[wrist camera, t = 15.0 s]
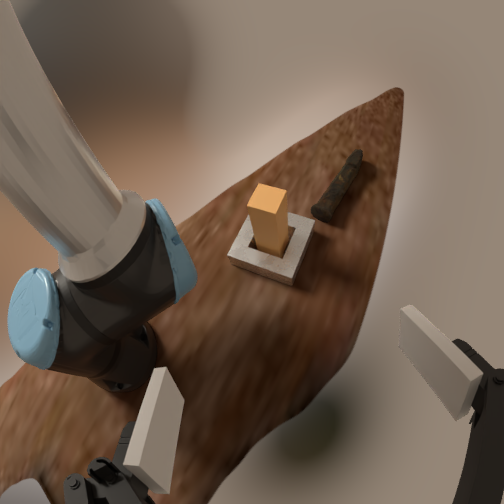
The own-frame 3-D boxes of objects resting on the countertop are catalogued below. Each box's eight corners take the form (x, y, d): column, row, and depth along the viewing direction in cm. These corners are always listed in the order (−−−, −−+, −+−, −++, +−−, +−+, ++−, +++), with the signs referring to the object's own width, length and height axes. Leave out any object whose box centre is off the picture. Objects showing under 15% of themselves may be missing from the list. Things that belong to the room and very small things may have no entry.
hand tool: (328, 227, 50) (330, 212, 46) (309, 216, 52) (310, 201, 48) (370, 166, 56) (374, 151, 52) (354, 158, 57) (357, 143, 53)
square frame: (231, 264, 49) (227, 255, 46) (257, 213, 53) (255, 202, 50) (291, 286, 46) (291, 278, 43) (313, 231, 50) (315, 220, 47)
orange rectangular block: (258, 253, 50) (246, 205, 37) (267, 234, 51) (258, 183, 39) (280, 261, 48) (275, 213, 36) (288, 241, 50) (286, 190, 38)
